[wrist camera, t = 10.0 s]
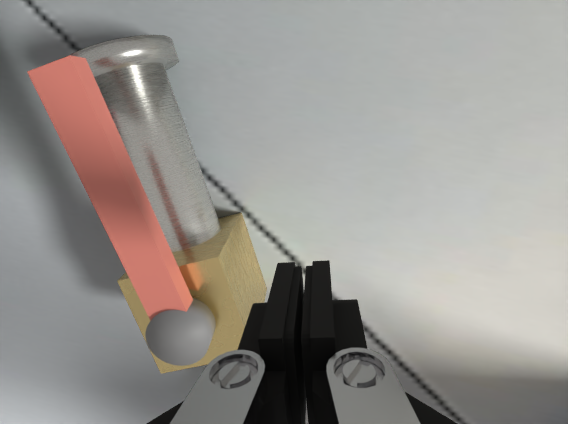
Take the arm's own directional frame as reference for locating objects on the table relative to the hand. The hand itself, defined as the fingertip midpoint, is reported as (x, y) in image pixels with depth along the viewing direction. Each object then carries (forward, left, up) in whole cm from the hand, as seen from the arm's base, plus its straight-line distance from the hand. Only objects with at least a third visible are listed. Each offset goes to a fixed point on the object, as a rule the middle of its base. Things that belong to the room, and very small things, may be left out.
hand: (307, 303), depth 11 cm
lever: (+2, +9, -8) cm, 12 cm away
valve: (-4, +9, -16) cm, 19 cm away
